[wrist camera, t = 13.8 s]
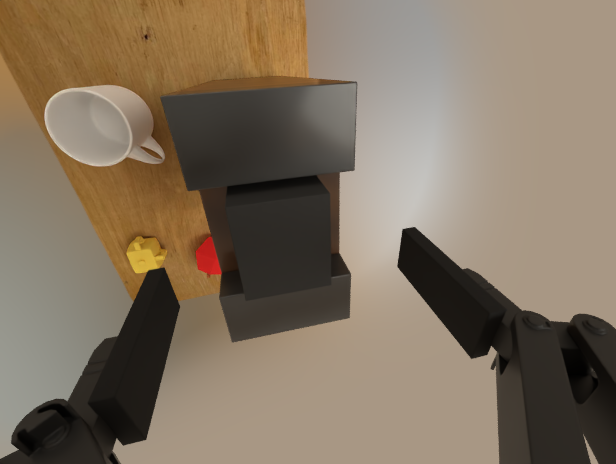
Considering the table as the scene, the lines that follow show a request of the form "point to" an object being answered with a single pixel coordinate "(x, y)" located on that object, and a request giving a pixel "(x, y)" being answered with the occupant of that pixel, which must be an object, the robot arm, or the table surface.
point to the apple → (208, 258)
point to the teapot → (145, 254)
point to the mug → (102, 125)
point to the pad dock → (266, 176)
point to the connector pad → (280, 235)
